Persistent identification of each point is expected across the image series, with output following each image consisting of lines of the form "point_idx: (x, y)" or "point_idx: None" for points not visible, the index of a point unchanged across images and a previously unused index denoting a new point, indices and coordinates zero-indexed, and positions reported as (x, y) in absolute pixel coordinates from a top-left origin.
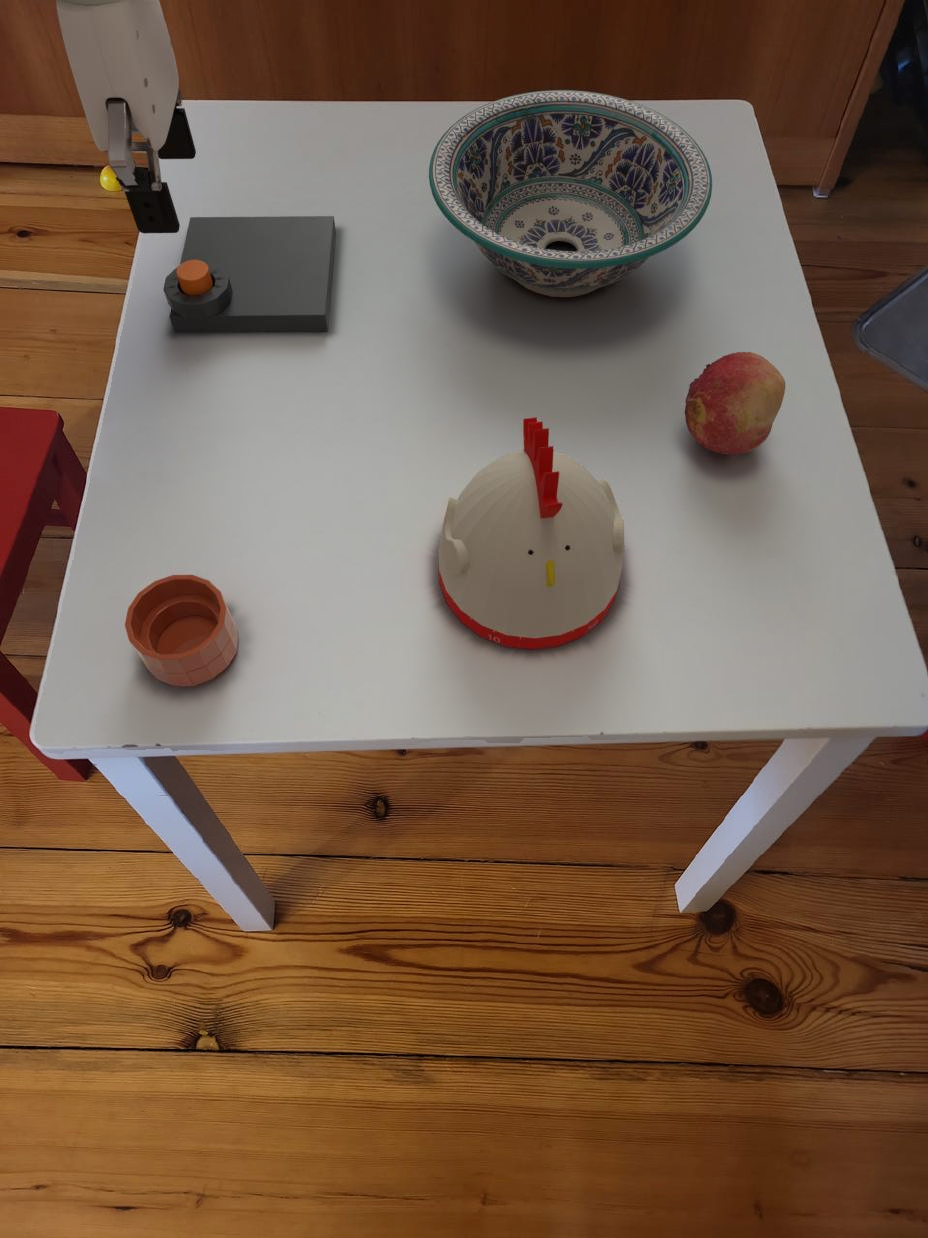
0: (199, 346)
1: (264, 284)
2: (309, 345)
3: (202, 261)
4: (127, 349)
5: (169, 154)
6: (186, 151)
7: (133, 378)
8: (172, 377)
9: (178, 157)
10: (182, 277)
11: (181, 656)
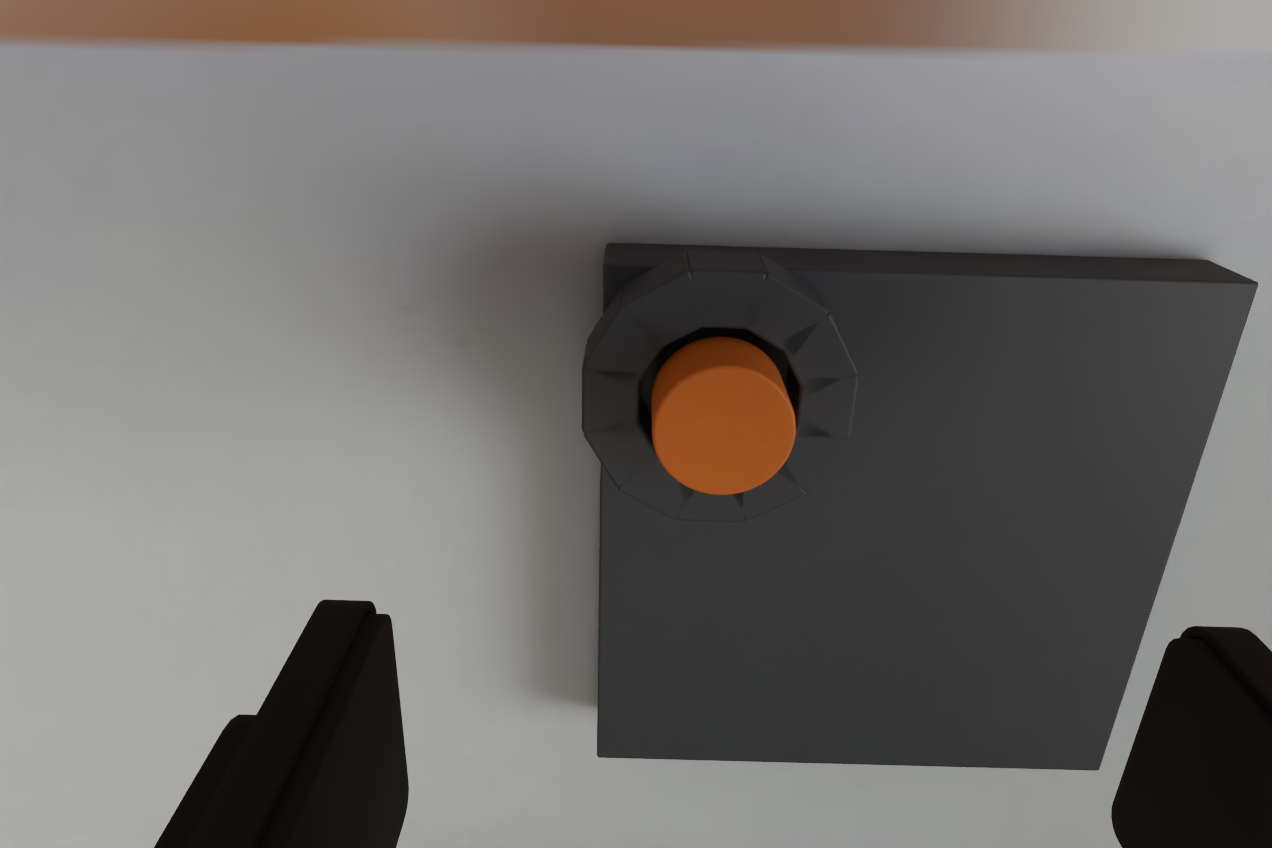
0: (533, 340)
1: (764, 587)
2: (540, 664)
3: (777, 469)
4: (513, 53)
5: (1166, 723)
6: (1142, 837)
7: (349, 104)
8: (368, 259)
9: (1135, 753)
10: (673, 397)
11: None
